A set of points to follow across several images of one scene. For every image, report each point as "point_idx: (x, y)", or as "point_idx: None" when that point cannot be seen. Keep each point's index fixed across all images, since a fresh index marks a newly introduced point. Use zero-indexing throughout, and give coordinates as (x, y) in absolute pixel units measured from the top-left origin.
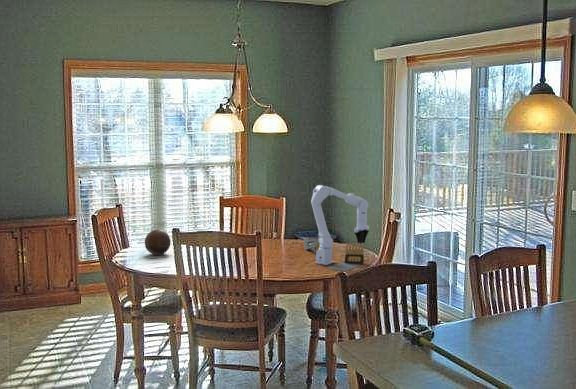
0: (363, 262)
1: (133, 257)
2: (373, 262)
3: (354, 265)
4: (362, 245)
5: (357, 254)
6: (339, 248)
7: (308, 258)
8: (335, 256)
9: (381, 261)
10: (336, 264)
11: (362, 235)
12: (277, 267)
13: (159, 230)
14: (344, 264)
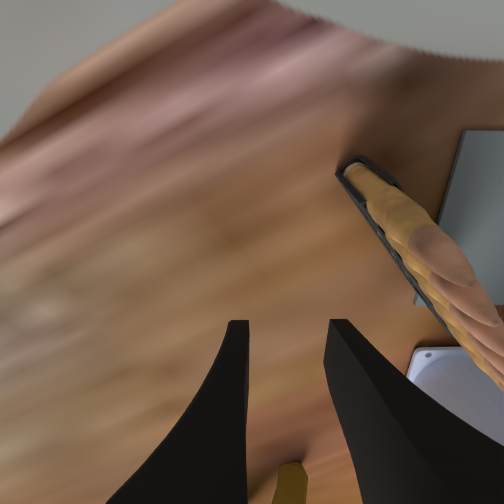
0: (365, 157)
1: None
2: (247, 98)
3: (494, 177)
4: (460, 249)
5: (393, 249)
6: (13, 492)
7: None
8: None
9: (144, 43)
10: (500, 304)
11: (463, 439)
12: None
13: None
14: (481, 261)
